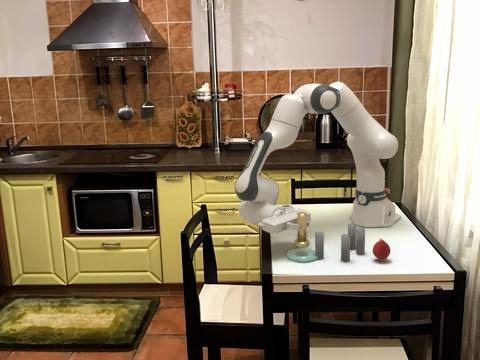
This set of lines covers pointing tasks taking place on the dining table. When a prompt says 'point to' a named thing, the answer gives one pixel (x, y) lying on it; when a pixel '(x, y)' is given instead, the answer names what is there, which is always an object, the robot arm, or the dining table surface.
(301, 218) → the bolt
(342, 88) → the robot arm
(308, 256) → the saucer
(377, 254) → the pomegranate
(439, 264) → the dining table surface
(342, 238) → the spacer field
